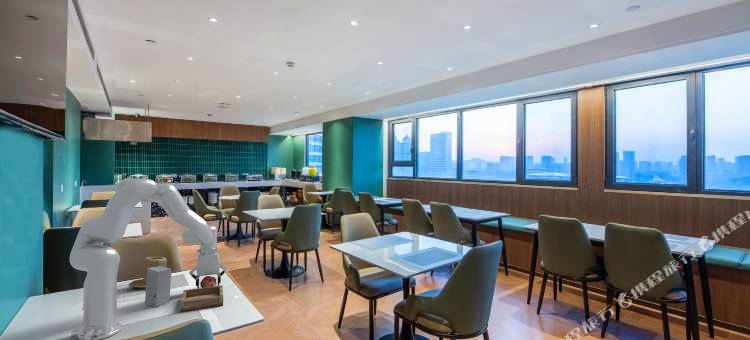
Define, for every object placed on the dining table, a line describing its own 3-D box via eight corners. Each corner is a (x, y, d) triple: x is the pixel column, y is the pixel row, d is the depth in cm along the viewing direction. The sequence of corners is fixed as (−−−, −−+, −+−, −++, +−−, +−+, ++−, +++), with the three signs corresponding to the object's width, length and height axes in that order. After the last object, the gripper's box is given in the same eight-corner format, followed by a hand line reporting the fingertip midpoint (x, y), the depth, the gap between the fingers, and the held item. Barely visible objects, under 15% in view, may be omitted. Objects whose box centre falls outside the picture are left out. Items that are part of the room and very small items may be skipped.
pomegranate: (198, 295, 169) (200, 287, 163) (199, 280, 173) (201, 272, 167) (214, 294, 173) (217, 286, 166) (215, 280, 177) (218, 272, 171)
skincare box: (144, 304, 152) (144, 268, 152) (160, 299, 158) (161, 264, 158) (155, 307, 148) (155, 271, 148) (172, 302, 154) (172, 267, 154)
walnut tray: (223, 305, 151) (223, 296, 151) (180, 312, 144) (180, 302, 144) (222, 293, 165) (222, 285, 165) (183, 298, 158) (183, 290, 158)
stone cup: (172, 283, 181) (172, 254, 181) (156, 290, 169) (156, 260, 169) (145, 282, 182) (145, 253, 182) (127, 289, 170) (127, 259, 170)
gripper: (188, 254, 163) (187, 291, 163) (227, 251, 170) (227, 285, 170) (189, 251, 170) (189, 286, 170) (227, 247, 177) (227, 281, 177)
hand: (208, 286), depth 170 cm, fingers open, 8 cm apart
